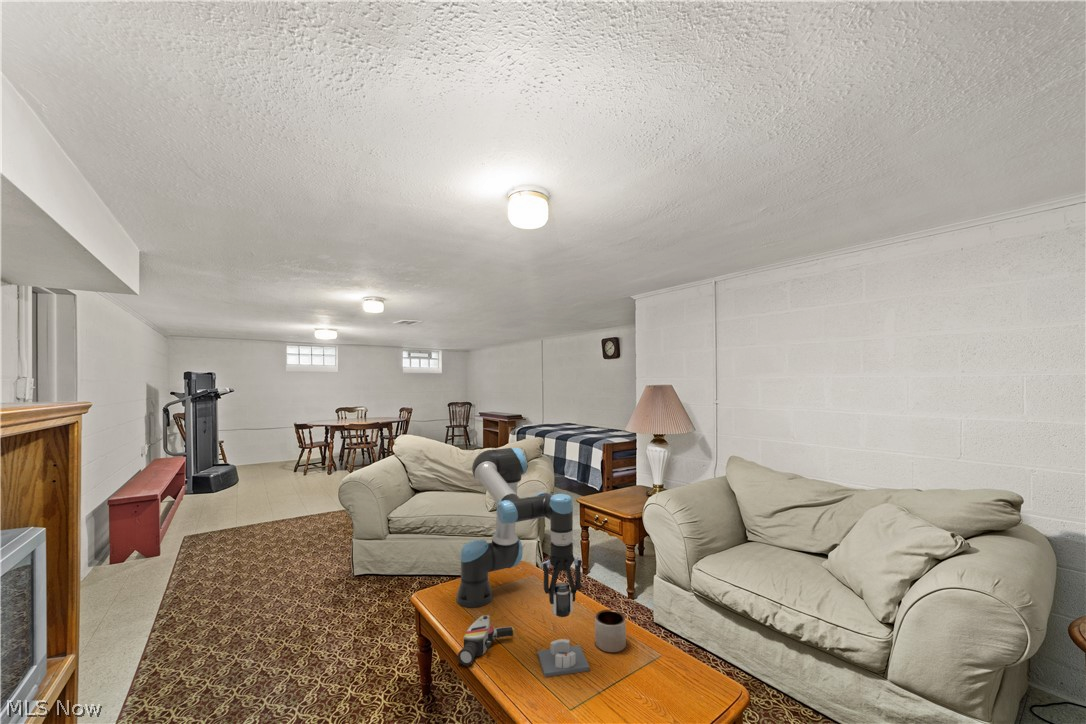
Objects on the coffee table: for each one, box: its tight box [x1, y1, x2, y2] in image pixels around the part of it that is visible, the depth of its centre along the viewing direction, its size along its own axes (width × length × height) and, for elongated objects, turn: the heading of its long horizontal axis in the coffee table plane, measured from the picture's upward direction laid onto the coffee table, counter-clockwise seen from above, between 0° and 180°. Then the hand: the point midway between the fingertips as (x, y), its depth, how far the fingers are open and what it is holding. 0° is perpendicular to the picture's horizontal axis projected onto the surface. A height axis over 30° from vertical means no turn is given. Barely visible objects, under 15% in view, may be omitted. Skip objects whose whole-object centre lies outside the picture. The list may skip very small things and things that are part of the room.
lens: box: [554, 582, 571, 618], centre depth 150 cm, size 5×5×9 cm
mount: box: [537, 638, 591, 678], centre depth 150 cm, size 12×15×5 cm
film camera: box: [457, 615, 515, 667], centre depth 156 cm, size 7×19×15 cm
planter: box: [594, 609, 627, 654], centre depth 159 cm, size 11×11×10 cm
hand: (562, 611), depth 150 cm, fingers closed on lens, 5 cm apart
